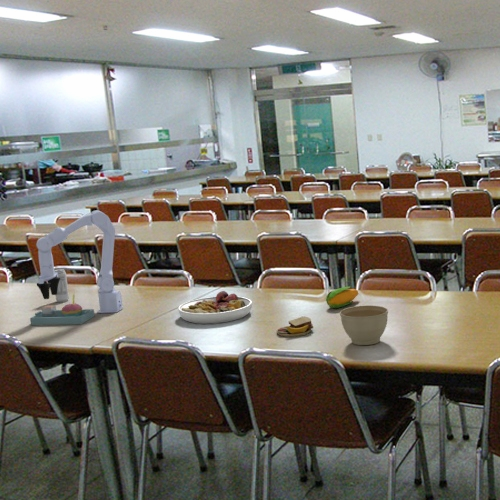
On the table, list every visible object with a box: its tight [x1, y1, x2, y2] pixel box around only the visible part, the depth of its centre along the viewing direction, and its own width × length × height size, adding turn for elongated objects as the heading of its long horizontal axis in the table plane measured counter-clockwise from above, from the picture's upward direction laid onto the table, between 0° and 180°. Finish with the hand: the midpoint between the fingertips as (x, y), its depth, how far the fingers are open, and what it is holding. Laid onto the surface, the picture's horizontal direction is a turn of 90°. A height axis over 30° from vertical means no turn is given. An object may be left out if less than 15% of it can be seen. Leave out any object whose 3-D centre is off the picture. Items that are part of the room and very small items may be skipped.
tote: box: [29, 308, 95, 326], centre depth 330 cm, size 23×13×4 cm, turn 78°
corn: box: [325, 286, 359, 309], centre depth 319 cm, size 7×8×20 cm
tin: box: [41, 304, 57, 317], centre depth 331 cm, size 4×4×6 cm
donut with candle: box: [61, 293, 83, 317], centre depth 329 cm, size 9×8×12 cm
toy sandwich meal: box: [276, 315, 314, 338], centre depth 284 cm, size 12×14×5 cm
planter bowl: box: [339, 305, 389, 346], centre depth 265 cm, size 16×16×11 cm
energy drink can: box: [54, 268, 70, 303], centre depth 369 cm, size 6×6×15 cm
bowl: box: [177, 290, 253, 325], centre depth 318 cm, size 30×30×8 cm
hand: (50, 296), depth 333 cm, fingers open, 7 cm apart
